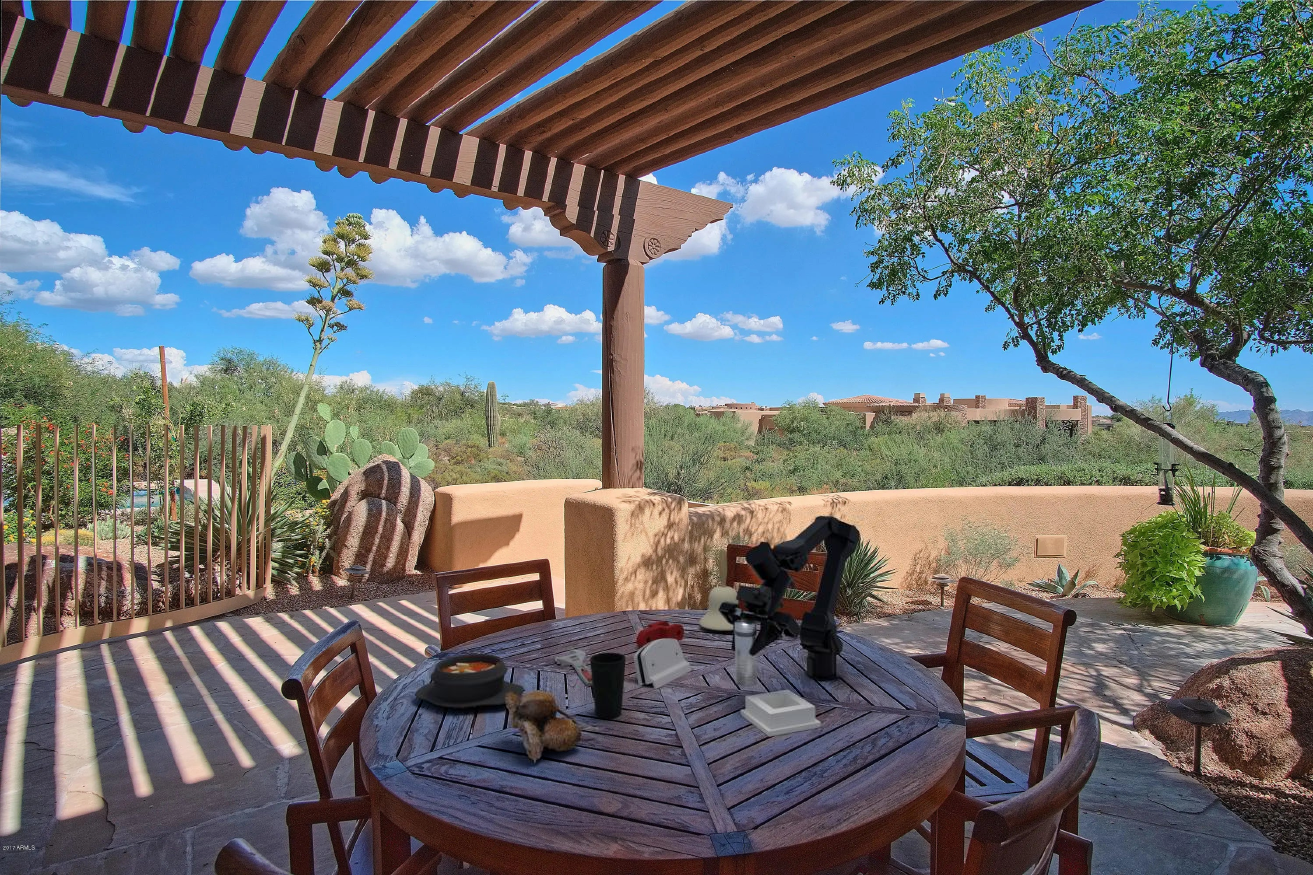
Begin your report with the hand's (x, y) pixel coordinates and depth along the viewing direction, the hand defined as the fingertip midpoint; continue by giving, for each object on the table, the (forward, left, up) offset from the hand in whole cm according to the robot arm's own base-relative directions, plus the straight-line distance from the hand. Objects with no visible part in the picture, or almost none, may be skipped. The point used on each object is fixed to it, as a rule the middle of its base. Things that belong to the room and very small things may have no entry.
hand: (742, 652), depth 147 cm
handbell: (-26, -63, -13) cm, 69 cm away
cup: (+27, -11, -13) cm, 32 cm away
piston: (-1, -1, -7) cm, 7 cm away
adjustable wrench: (+26, -41, -14) cm, 51 cm away
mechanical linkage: (-2, -56, -13) cm, 58 cm away
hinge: (+8, -29, -13) cm, 33 cm away
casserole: (+54, -31, -13) cm, 63 cm away
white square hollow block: (-5, +6, -13) cm, 15 cm away
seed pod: (+43, +1, -13) cm, 45 cm away
